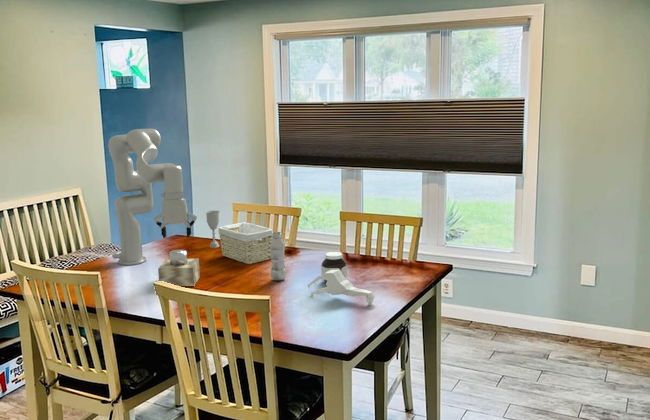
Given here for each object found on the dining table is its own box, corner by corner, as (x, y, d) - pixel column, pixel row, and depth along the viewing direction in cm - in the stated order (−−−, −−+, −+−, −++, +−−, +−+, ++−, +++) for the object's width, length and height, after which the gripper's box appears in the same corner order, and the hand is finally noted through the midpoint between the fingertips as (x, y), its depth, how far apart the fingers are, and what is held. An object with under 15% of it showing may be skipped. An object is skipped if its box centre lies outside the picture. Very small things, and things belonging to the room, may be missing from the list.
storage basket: (275, 259, 287) (274, 228, 284) (247, 266, 276) (245, 234, 274) (246, 250, 304) (244, 221, 302) (218, 256, 294) (216, 226, 291)
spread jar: (327, 286, 244) (327, 258, 242) (315, 279, 254) (314, 251, 252) (353, 281, 250) (353, 253, 248) (340, 274, 260) (339, 247, 258)
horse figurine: (319, 319, 233) (373, 305, 219) (304, 279, 233) (357, 262, 219) (326, 315, 237) (379, 301, 223) (312, 275, 237) (364, 259, 223)
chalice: (224, 245, 315) (222, 211, 312) (216, 248, 309) (214, 213, 306) (212, 244, 318) (210, 210, 315) (204, 247, 312) (202, 212, 309)
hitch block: (159, 287, 248) (158, 268, 246) (166, 277, 261) (165, 259, 260) (194, 286, 248) (193, 267, 247) (199, 276, 262) (198, 258, 260)
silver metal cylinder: (169, 282, 251) (167, 254, 249) (173, 277, 258) (171, 249, 256) (186, 281, 251) (184, 253, 249) (189, 276, 258) (188, 249, 256)
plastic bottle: (289, 278, 256) (287, 231, 253) (282, 282, 250) (280, 235, 246) (274, 277, 258) (272, 230, 255) (268, 281, 252) (266, 234, 248)
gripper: (150, 198, 244) (153, 239, 247) (193, 197, 245) (196, 238, 248) (154, 194, 251) (157, 235, 255) (197, 193, 252) (199, 234, 255)
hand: (176, 236), depth 251 cm, fingers open, 9 cm apart
